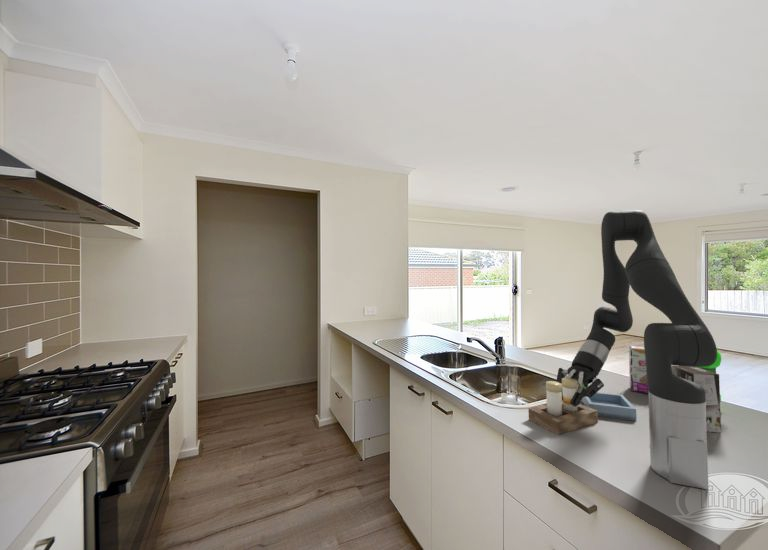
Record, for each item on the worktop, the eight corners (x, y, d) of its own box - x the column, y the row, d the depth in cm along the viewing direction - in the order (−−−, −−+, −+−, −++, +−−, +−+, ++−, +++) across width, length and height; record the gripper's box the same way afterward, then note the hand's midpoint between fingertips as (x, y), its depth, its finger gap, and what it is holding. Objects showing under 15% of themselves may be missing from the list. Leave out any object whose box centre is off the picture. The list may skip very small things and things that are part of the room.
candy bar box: (631, 391, 115) (630, 348, 115) (629, 387, 119) (628, 345, 120) (671, 397, 109) (669, 351, 109) (667, 392, 113) (666, 348, 114)
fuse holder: (566, 409, 101) (566, 398, 101) (597, 422, 92) (597, 410, 92) (528, 419, 95) (528, 408, 95) (558, 434, 85) (557, 422, 85)
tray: (636, 420, 92) (636, 409, 92) (589, 414, 97) (589, 403, 97) (622, 405, 104) (622, 394, 104) (581, 400, 108) (581, 390, 108)
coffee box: (722, 433, 84) (721, 374, 85) (695, 431, 86) (693, 373, 86) (696, 418, 93) (694, 365, 94) (671, 416, 95) (670, 364, 95)
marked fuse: (580, 422, 92) (578, 382, 92) (564, 420, 93) (562, 381, 94) (577, 416, 96) (576, 378, 96) (561, 414, 97) (560, 377, 97)
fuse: (563, 427, 89) (562, 386, 89) (547, 425, 91) (546, 384, 91) (561, 421, 93) (560, 381, 93) (546, 419, 95) (545, 380, 95)
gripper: (564, 345, 104) (539, 387, 99) (608, 355, 91) (582, 403, 86) (575, 359, 106) (551, 400, 101) (620, 370, 93) (595, 418, 88)
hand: (565, 401), depth 94 cm, fingers closed on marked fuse, 4 cm apart
